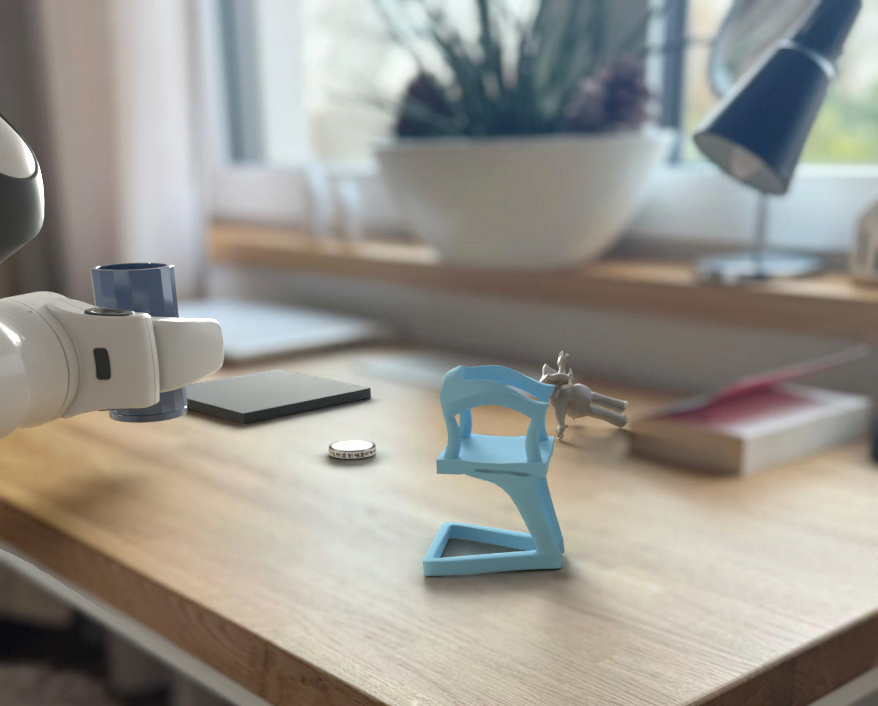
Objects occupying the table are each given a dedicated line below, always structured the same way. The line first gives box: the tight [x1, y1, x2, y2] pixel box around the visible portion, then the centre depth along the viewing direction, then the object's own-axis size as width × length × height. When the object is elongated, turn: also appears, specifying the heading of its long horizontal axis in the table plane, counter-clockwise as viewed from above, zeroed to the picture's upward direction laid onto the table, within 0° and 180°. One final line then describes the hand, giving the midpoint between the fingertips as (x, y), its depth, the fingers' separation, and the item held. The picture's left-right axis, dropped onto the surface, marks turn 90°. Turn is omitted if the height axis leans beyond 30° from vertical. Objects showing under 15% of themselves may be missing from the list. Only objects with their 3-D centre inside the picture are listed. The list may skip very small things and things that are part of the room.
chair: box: [422, 364, 566, 577], centre depth 66 cm, size 8×8×12 cm
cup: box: [89, 261, 189, 424], centre depth 89 cm, size 6×6×12 cm
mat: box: [186, 368, 372, 424], centre depth 113 cm, size 16×16×1 cm
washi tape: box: [328, 439, 377, 460], centre depth 92 cm, size 4×4×1 cm
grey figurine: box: [538, 350, 630, 441], centre depth 98 cm, size 10×6×9 cm
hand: (145, 328), depth 89 cm, fingers closed on cup, 6 cm apart
